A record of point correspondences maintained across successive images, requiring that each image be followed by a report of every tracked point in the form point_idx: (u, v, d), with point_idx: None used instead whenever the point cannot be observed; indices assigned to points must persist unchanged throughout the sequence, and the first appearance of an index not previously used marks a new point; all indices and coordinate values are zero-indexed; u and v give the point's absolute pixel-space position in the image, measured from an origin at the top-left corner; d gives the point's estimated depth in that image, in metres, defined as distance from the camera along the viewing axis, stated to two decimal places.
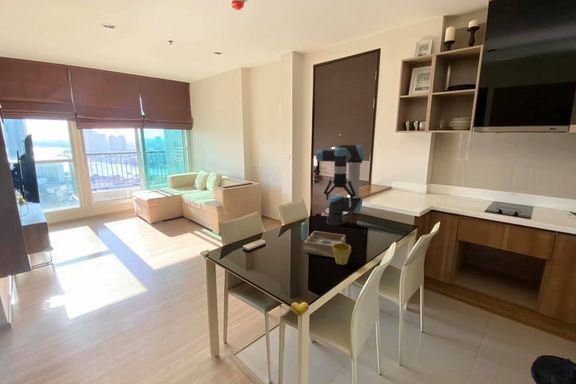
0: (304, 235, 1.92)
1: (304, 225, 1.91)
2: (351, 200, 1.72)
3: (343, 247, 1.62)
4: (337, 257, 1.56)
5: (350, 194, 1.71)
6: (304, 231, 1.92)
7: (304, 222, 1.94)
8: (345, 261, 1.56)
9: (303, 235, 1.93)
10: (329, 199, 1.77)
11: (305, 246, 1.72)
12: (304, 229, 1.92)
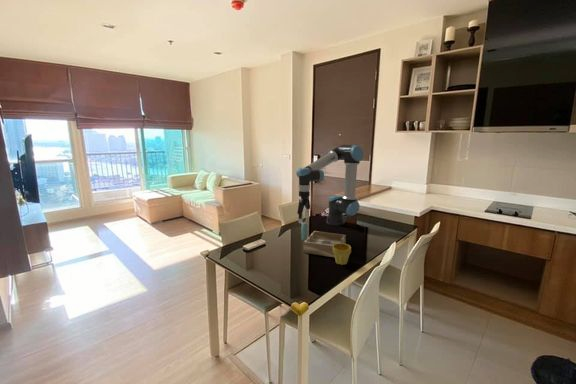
0: (304, 235, 1.92)
1: (304, 225, 1.91)
2: (299, 217, 1.84)
3: (343, 247, 1.62)
4: (337, 257, 1.56)
5: None
6: (304, 231, 1.92)
7: (304, 222, 1.94)
8: (345, 261, 1.56)
9: (303, 235, 1.93)
10: (306, 213, 1.97)
11: (305, 246, 1.72)
12: (304, 229, 1.92)
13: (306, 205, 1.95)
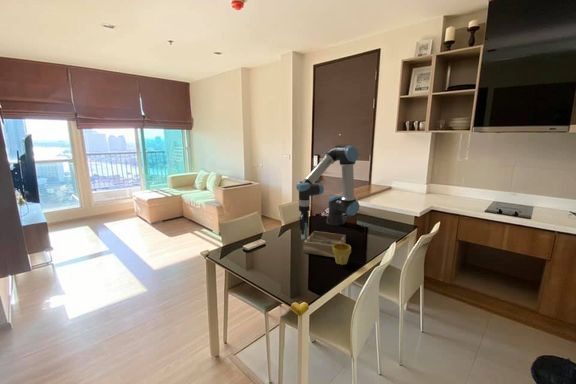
0: None
1: None
2: (301, 232, 1.91)
3: (343, 247, 1.62)
4: (337, 257, 1.56)
5: None
6: None
7: None
8: (345, 261, 1.56)
9: None
10: None
11: (305, 246, 1.72)
12: None
13: None
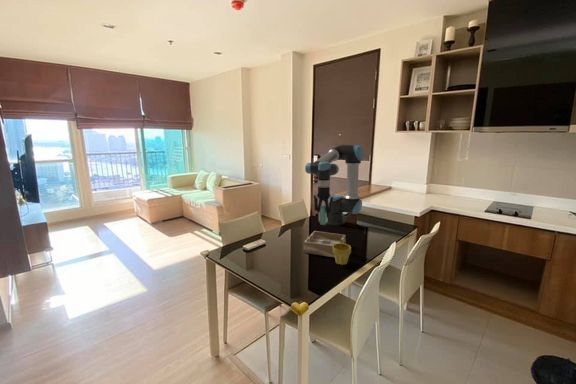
0: None
1: None
2: (327, 216, 1.77)
3: (343, 247, 1.62)
4: (337, 257, 1.56)
5: (327, 210, 1.76)
6: None
7: None
8: (345, 261, 1.56)
9: None
10: None
11: (305, 246, 1.72)
12: None
13: (320, 205, 1.79)
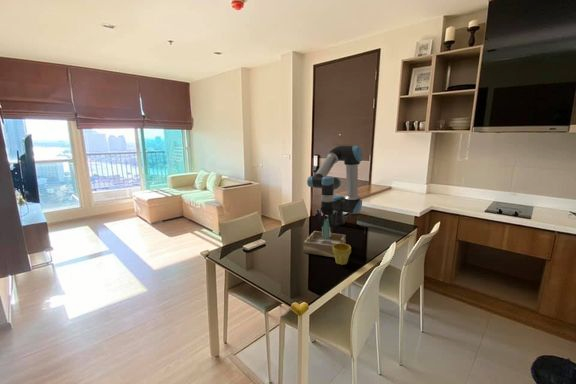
0: None
1: None
2: (331, 230, 1.77)
3: (343, 247, 1.62)
4: (337, 257, 1.56)
5: (331, 224, 1.76)
6: None
7: (324, 220, 1.78)
8: (345, 261, 1.56)
9: None
10: (323, 230, 1.80)
11: (305, 246, 1.72)
12: None
13: None
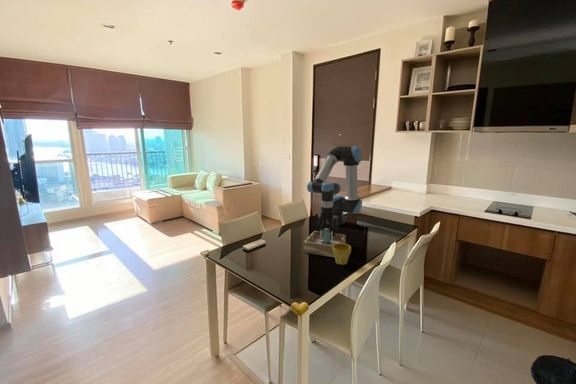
0: None
1: None
2: (333, 235, 1.78)
3: (343, 247, 1.62)
4: (337, 257, 1.56)
5: (333, 229, 1.77)
6: None
7: (323, 229, 1.80)
8: (345, 261, 1.56)
9: (329, 241, 1.81)
10: (321, 234, 1.81)
11: (305, 246, 1.72)
12: None
13: (322, 224, 1.80)
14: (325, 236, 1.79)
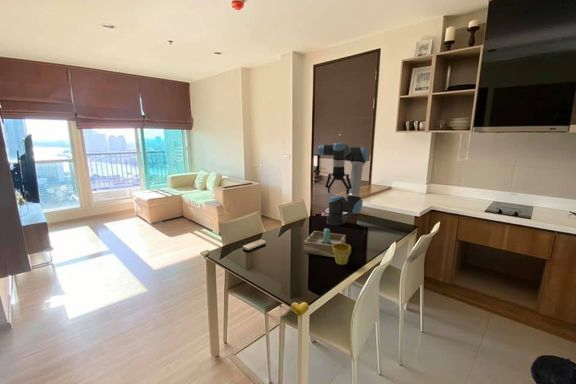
0: None
1: None
2: (347, 192, 1.85)
3: (343, 247, 1.62)
4: (337, 257, 1.56)
5: (346, 187, 1.84)
6: None
7: (324, 229, 1.80)
8: (345, 261, 1.56)
9: (329, 241, 1.81)
10: (330, 192, 1.90)
11: (305, 246, 1.72)
12: None
13: (332, 183, 1.88)
14: (325, 236, 1.79)
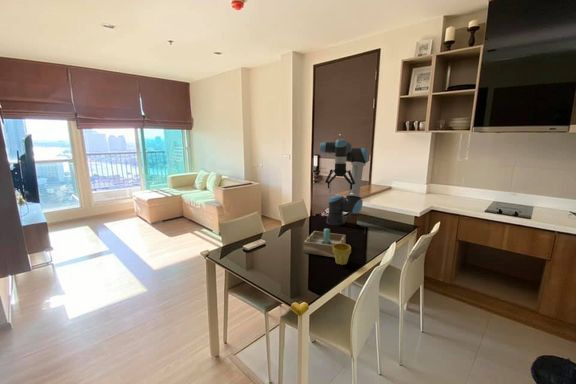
0: None
1: None
2: (350, 188, 1.86)
3: (343, 247, 1.62)
4: (337, 257, 1.56)
5: (350, 182, 1.85)
6: None
7: (324, 229, 1.80)
8: (345, 261, 1.56)
9: (329, 241, 1.80)
10: (330, 187, 1.91)
11: (305, 246, 1.72)
12: None
13: None
14: (325, 236, 1.79)
